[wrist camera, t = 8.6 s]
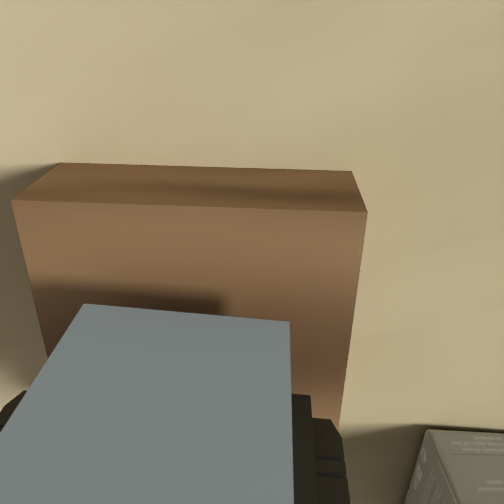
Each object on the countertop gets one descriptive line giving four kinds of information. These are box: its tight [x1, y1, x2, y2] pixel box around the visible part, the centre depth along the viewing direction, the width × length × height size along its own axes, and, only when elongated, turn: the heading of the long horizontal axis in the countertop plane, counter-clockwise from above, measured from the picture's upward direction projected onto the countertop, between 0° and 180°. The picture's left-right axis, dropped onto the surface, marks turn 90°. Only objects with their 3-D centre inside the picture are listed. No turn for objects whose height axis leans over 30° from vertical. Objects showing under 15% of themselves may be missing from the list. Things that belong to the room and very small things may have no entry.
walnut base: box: [10, 163, 368, 431], centre depth 16 cm, size 9×9×4 cm
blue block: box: [0, 304, 294, 504], centre depth 10 cm, size 5×5×6 cm
